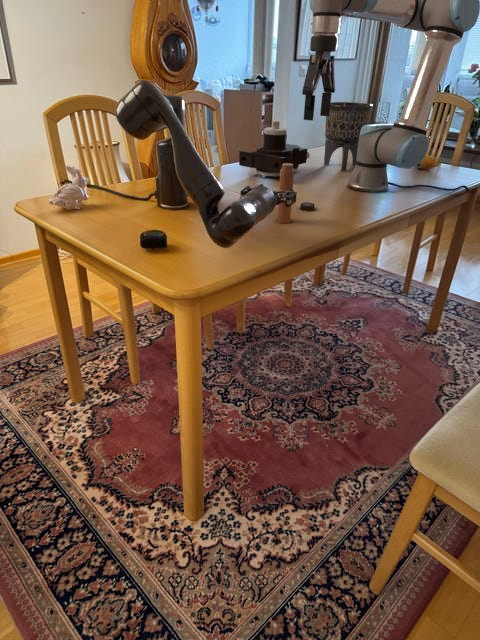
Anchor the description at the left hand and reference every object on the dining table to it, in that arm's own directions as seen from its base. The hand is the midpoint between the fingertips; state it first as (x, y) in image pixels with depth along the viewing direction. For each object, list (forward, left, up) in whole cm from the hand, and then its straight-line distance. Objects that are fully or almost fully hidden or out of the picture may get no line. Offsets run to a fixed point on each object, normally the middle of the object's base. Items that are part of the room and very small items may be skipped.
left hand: (276, 189), depth 126 cm
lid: (+3, +26, -11) cm, 28 cm away
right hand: (+4, +26, +16) cm, 31 cm away
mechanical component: (-21, +73, -12) cm, 76 cm away
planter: (+1, +98, -12) cm, 99 cm away
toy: (+36, +114, -12) cm, 121 cm away
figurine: (-67, -7, -12) cm, 68 cm away
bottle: (0, +10, -12) cm, 15 cm away
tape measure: (-24, -26, -12) cm, 37 cm away
